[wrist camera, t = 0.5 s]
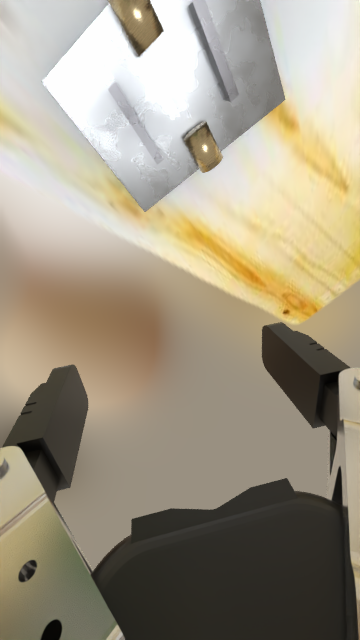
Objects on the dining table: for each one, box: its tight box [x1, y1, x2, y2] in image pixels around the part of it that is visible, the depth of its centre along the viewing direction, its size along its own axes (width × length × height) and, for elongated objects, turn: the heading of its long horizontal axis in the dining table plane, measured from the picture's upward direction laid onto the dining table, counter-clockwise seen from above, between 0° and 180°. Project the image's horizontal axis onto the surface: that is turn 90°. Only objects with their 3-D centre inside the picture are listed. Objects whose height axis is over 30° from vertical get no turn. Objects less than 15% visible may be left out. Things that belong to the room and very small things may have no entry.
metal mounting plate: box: [42, 0, 285, 212], centre depth 26 cm, size 16×21×4 cm
